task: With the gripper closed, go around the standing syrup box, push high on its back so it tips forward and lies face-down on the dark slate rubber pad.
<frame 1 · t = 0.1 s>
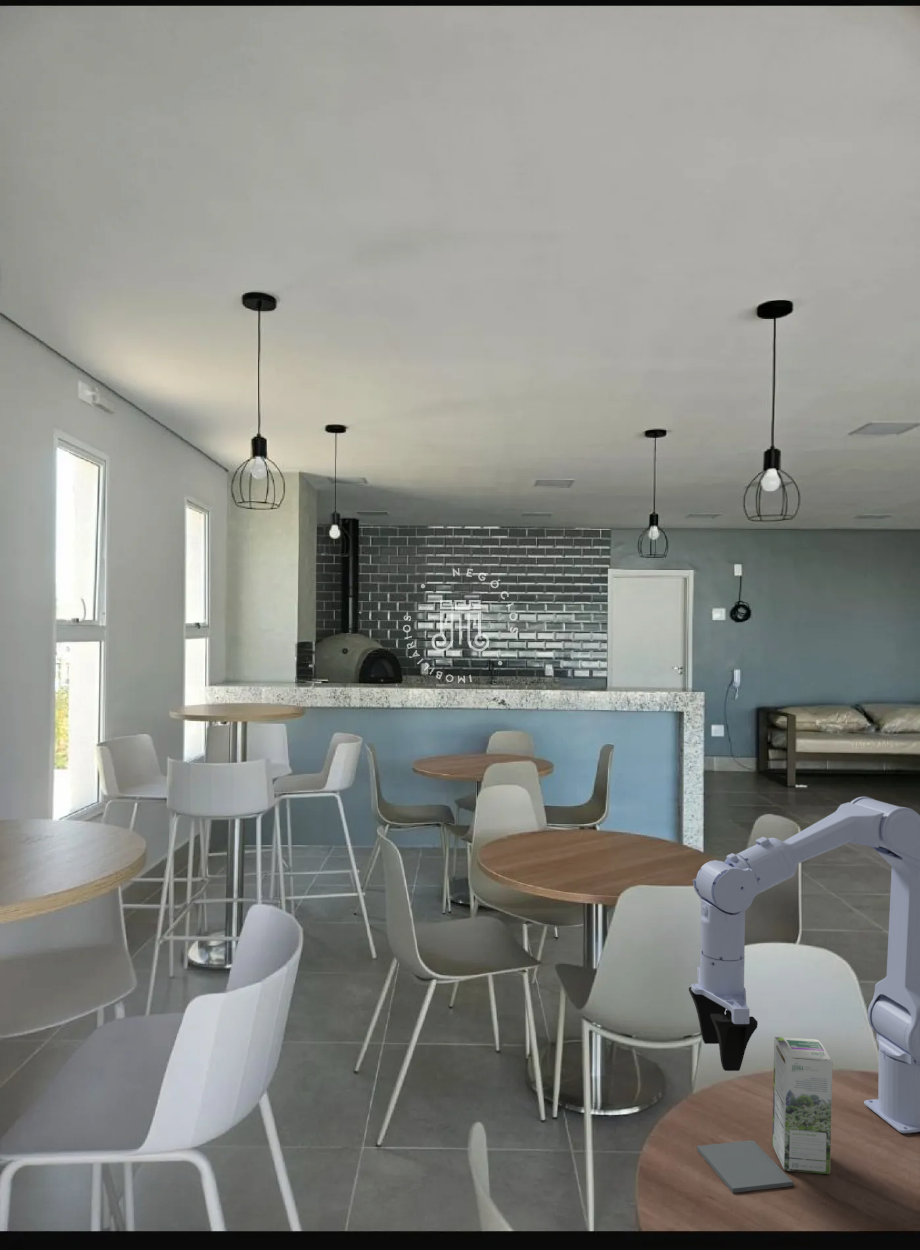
hand: (720, 1055, 117), 10 cm above the table, tool pointing down, fingers open, 7 cm apart
syrup box: (800, 1162, 111), on the table
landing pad: (743, 1167, 109), on the table
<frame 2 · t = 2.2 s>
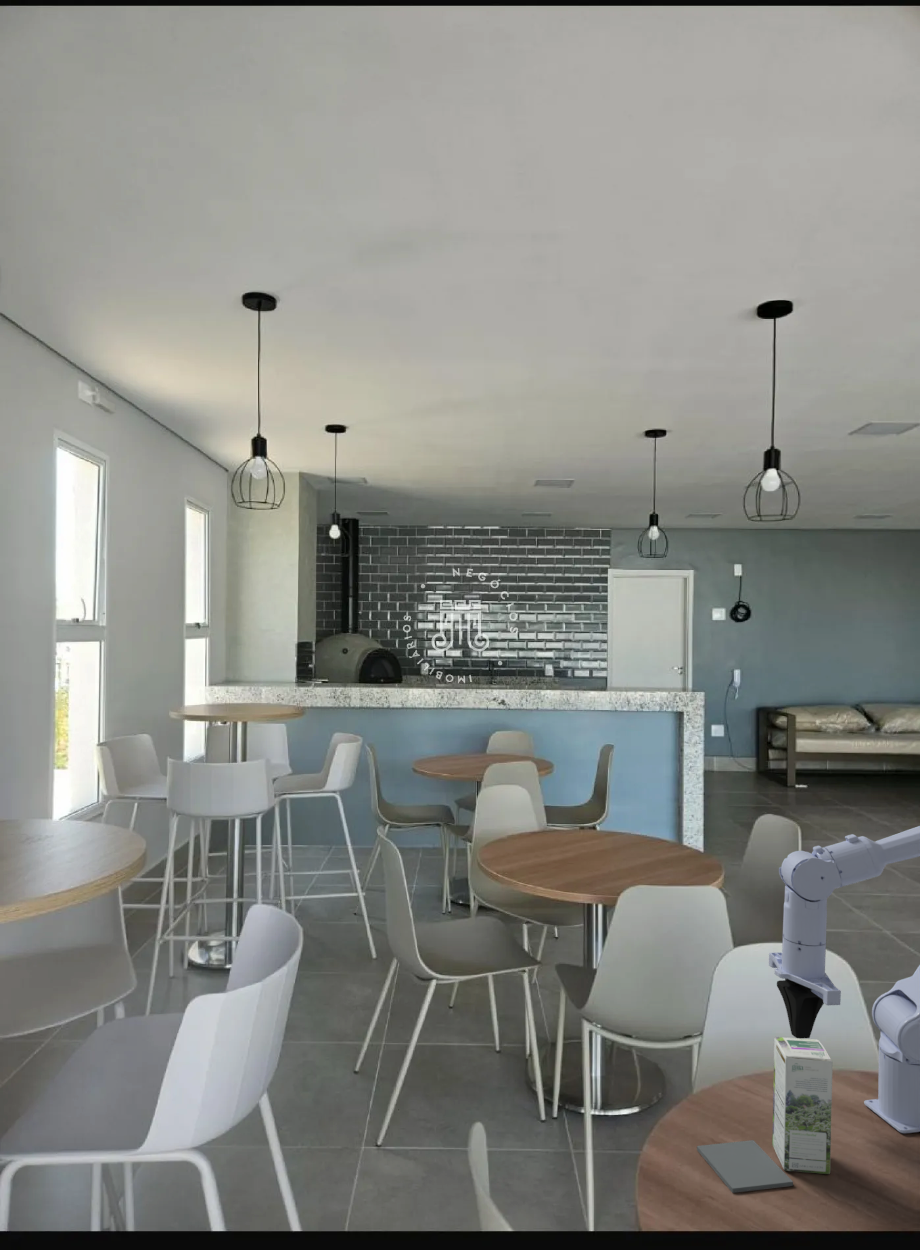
hand: (800, 1036, 123), 10 cm above the table, tool pointing down, fingers closed
nothing on the table moved.
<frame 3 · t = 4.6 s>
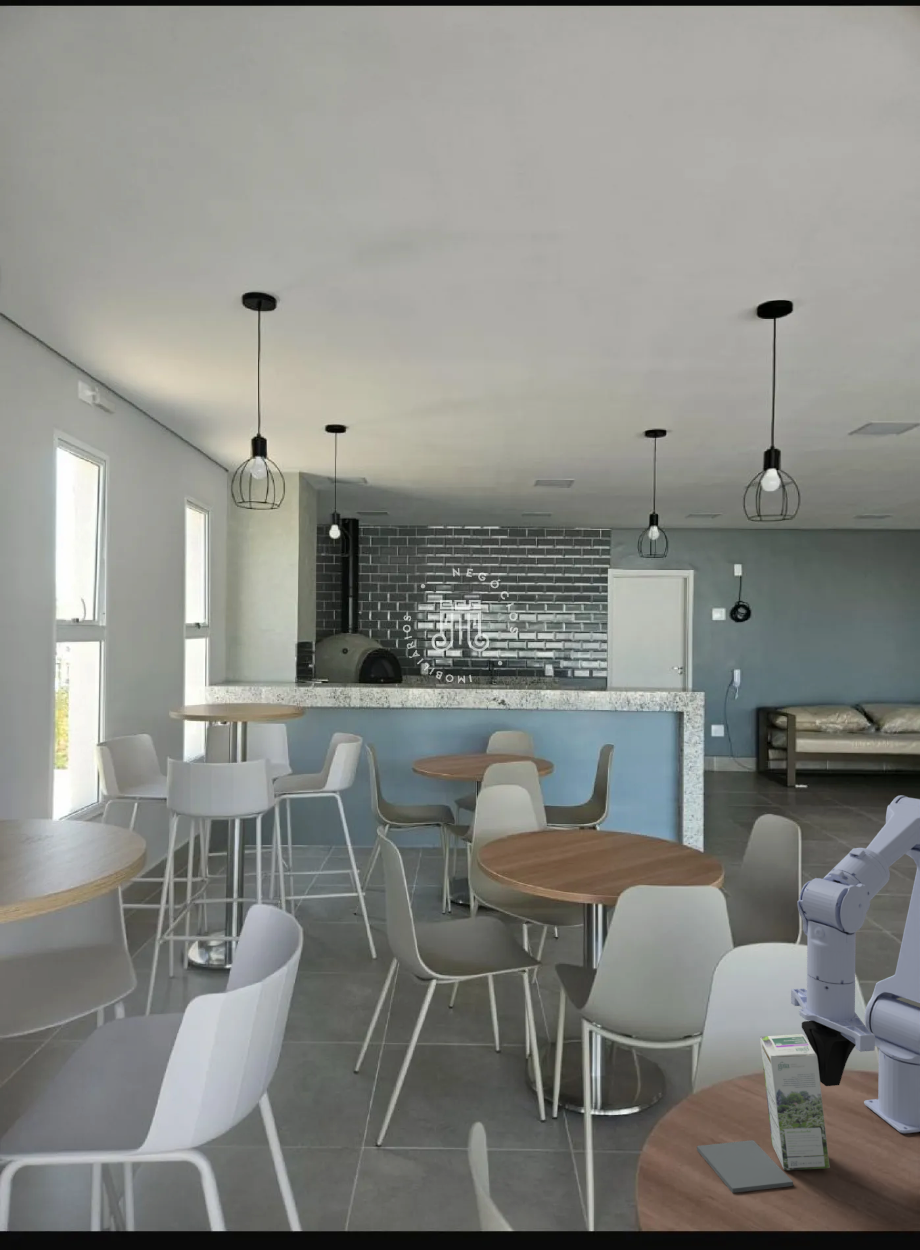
hand: (829, 1083, 112), 9 cm above the table, tool pointing down, fingers closed
syrup box: (800, 1159, 111), on the table, touching gripper
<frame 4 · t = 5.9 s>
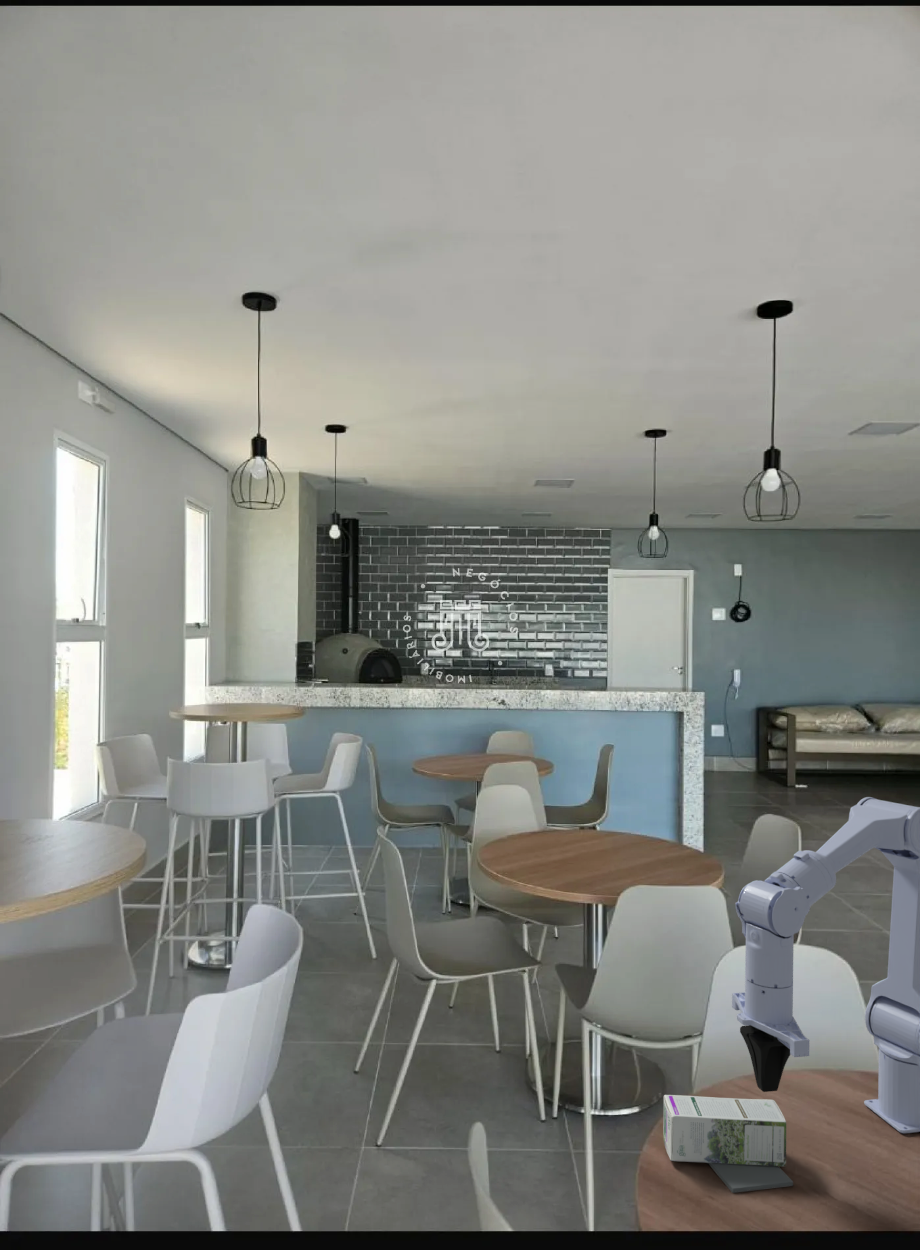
hand: (767, 1088, 110), 9 cm above the table, tool pointing down, fingers closed
syrup box: (782, 1132, 111), point 3 cm above the table, touching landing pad
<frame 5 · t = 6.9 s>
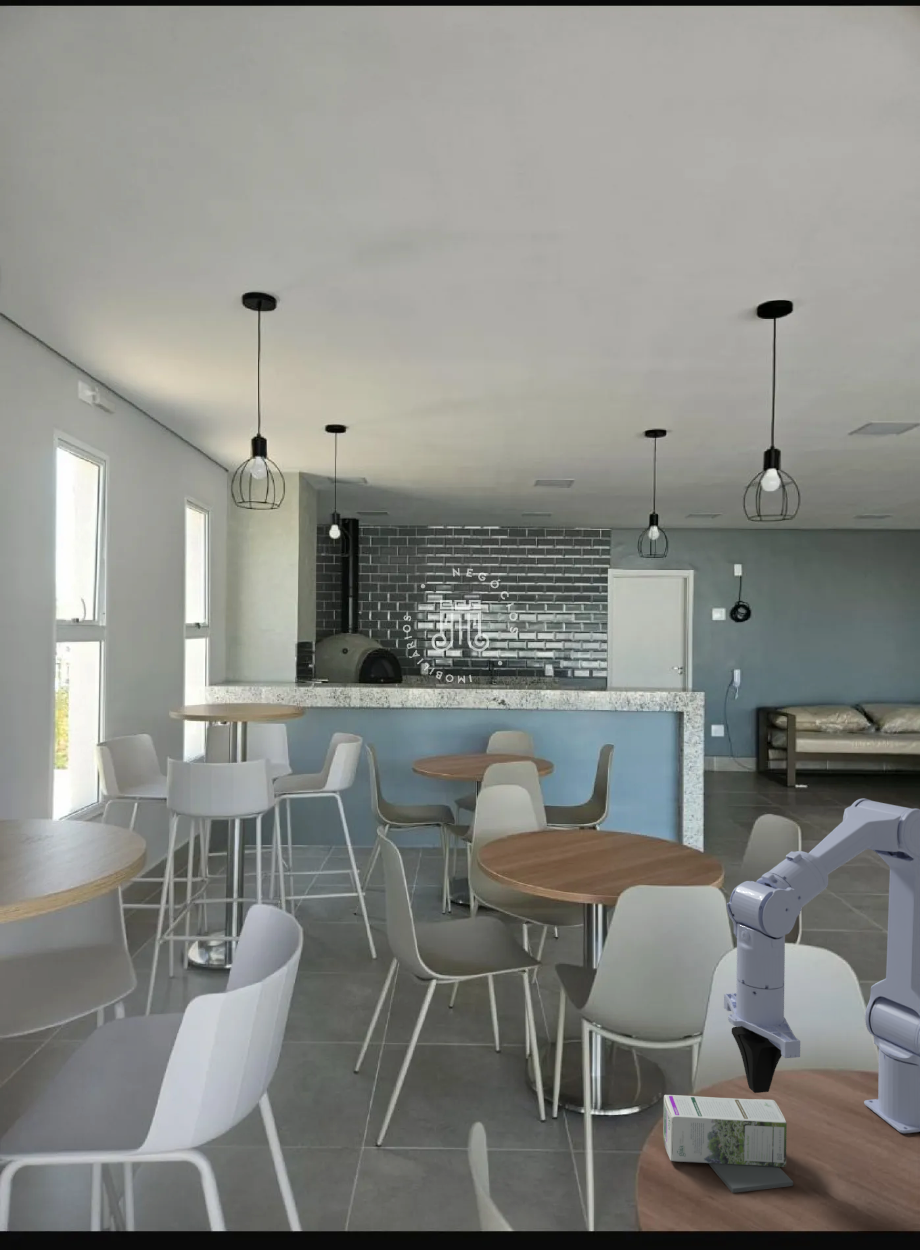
hand: (758, 1089, 110), 9 cm above the table, tool pointing down, fingers closed
nothing on the table moved.
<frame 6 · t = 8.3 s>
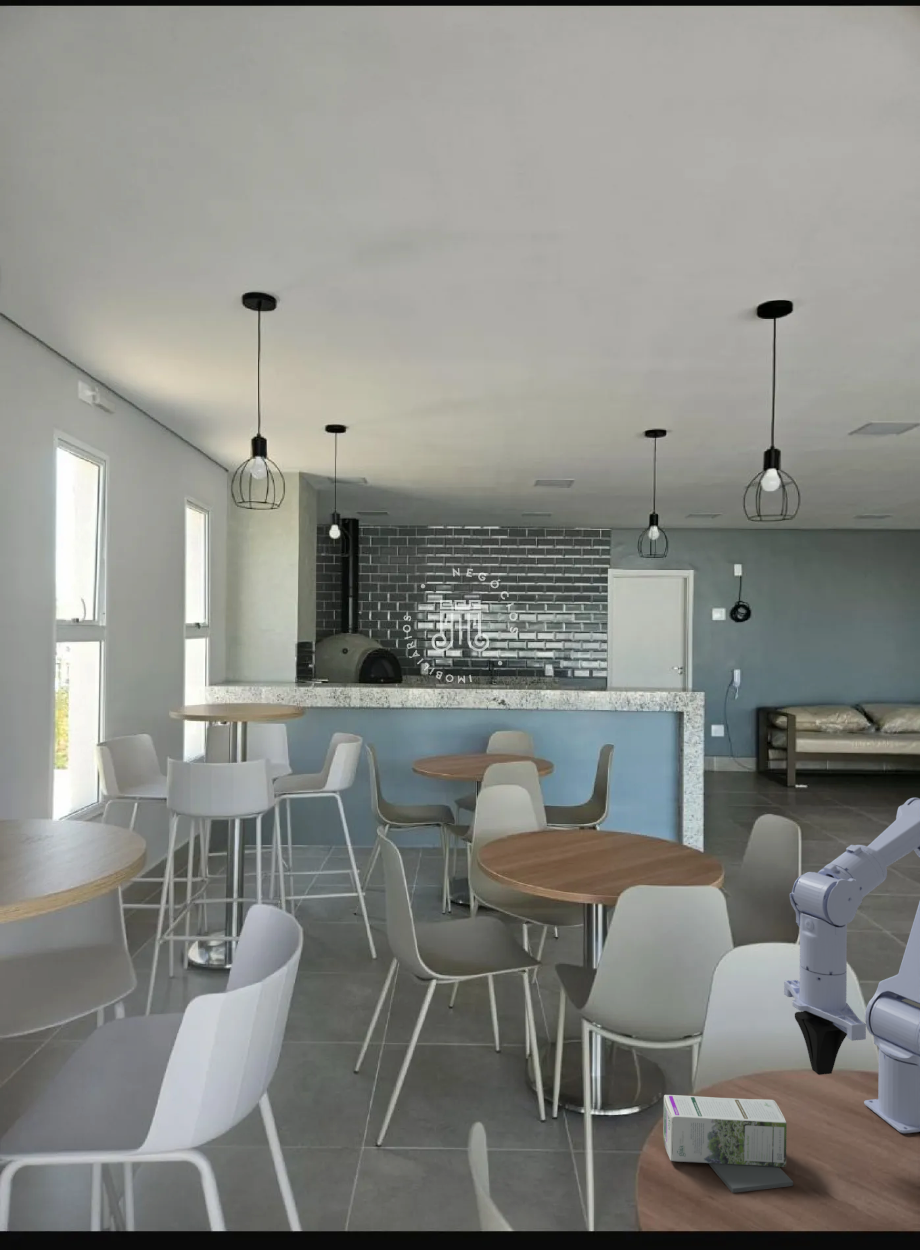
hand: (822, 1071, 114), 10 cm above the table, tool pointing down, fingers closed
nothing on the table moved.
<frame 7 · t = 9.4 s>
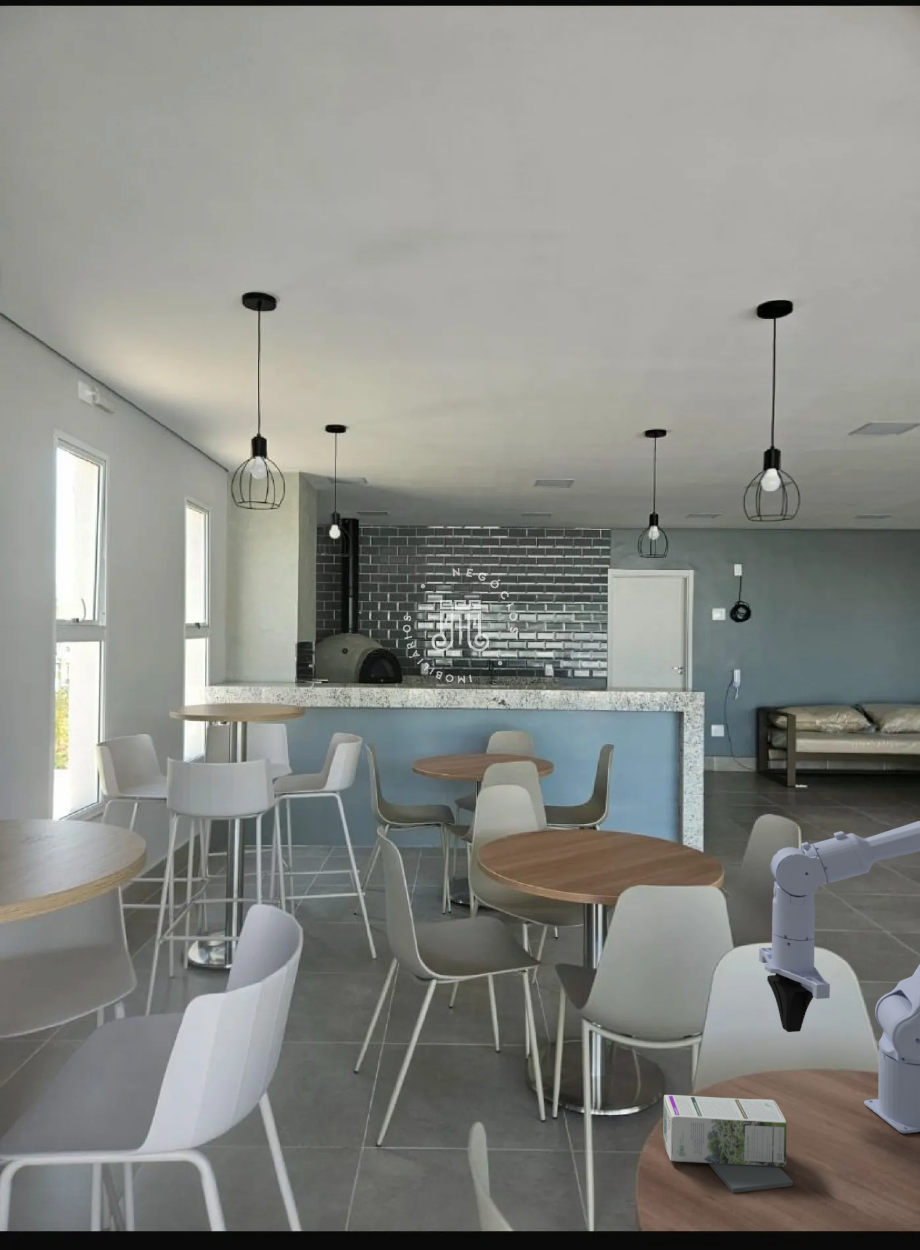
hand: (791, 1029, 125), 10 cm above the table, tool pointing down, fingers closed
nothing on the table moved.
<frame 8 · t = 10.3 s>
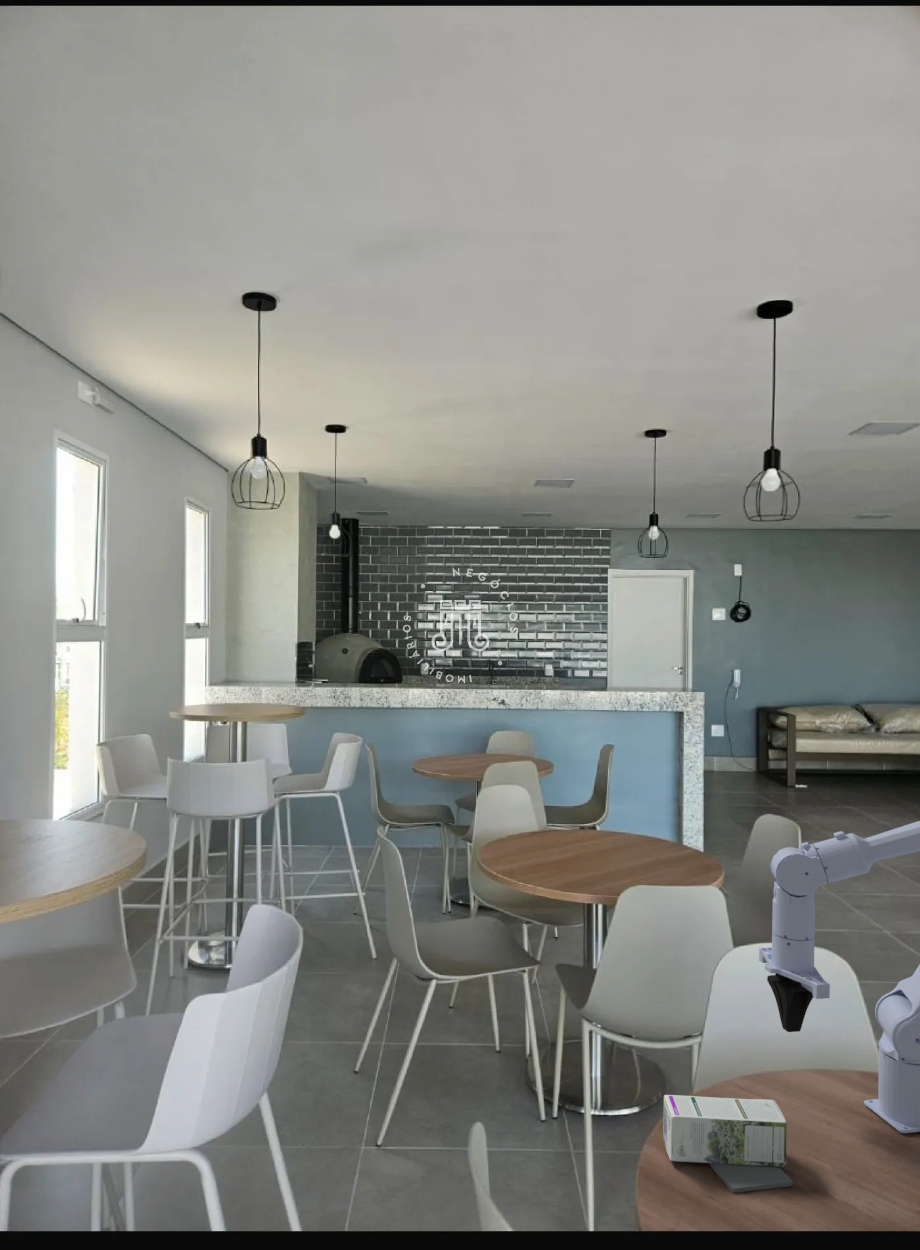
hand: (791, 1029, 125), 10 cm above the table, tool pointing down, fingers closed
nothing on the table moved.
at the end: syrup box tilted 90°; syrup box touching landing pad; the gripper is holding nothing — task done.
